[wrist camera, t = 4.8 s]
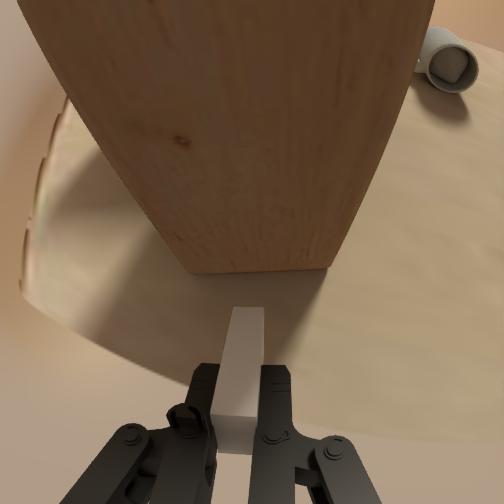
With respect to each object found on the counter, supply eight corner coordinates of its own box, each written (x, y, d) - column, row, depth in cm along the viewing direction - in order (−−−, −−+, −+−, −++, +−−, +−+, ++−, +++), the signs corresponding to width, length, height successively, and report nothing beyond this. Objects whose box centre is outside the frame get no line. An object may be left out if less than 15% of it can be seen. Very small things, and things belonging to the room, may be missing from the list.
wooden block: (189, 276, 21) (3, -7, 3) (197, 164, 25) (127, -66, 7) (331, 270, 21) (456, -54, 2) (314, 158, 24) (339, -85, 6)
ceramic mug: (449, 67, 31) (462, 29, 24) (467, 100, 28) (487, 57, 21) (386, 51, 32) (395, 7, 25) (399, 80, 29) (412, 31, 22)
